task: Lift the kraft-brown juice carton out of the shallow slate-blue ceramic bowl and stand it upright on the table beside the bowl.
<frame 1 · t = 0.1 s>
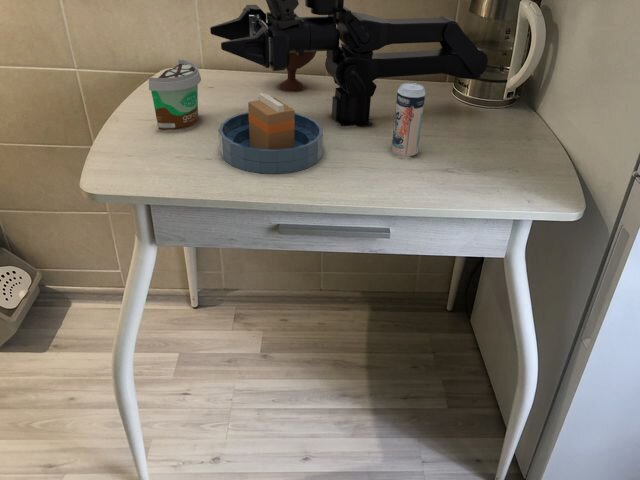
hand: (215, 38, 99), 17 cm above the table, tool horizontal, fingers open, 9 cm apart
beer can: (404, 153, 107), on the table
ice cream bowl: (291, 88, 131), on the table
food container: (186, 125, 111), on the table
bowl: (272, 153, 103), on the table
carton: (271, 151, 102), resting on bowl
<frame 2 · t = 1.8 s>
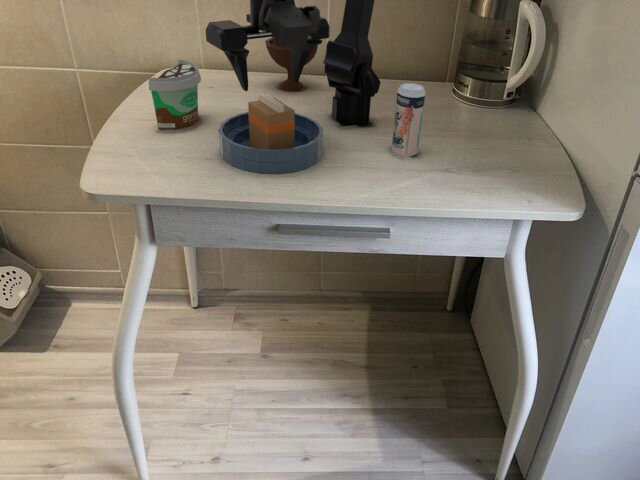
hand: (270, 86, 96), 12 cm above the table, tool pointing down, fingers open, 9 cm apart
nothing on the table moved.
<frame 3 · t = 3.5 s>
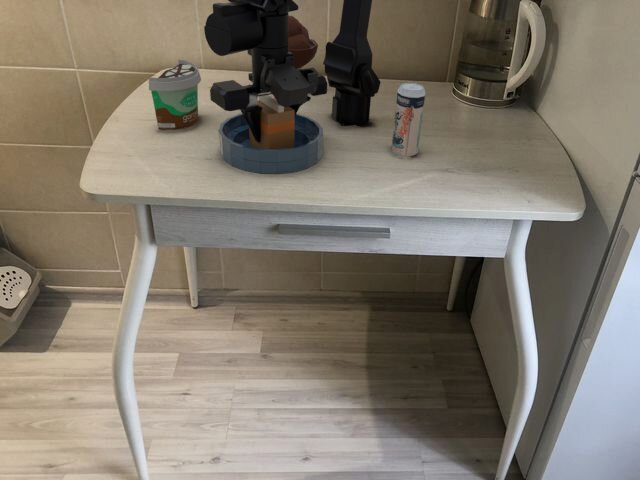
hand: (271, 138, 101), 3 cm above the table, tool pointing down, fingers closed on carton, 5 cm apart
carton: (272, 151, 102), point 1 cm above the table, touching bowl, gripper
everything else where it was.
when the fingers open (2 cm above the table, at t = 8.8 s): carton stays where it is, on the table.
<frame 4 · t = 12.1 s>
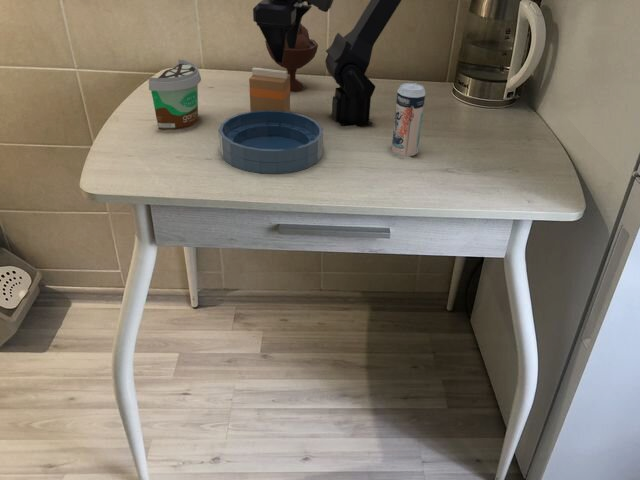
hand: (285, 54, 106), 13 cm above the table, tool pointing down, fingers open, 9 cm apart
carton: (270, 117, 116), on the table
everything else where it was.
at the end: carton inside the target area (0.0 cm from its centre), on the table; carton touching table; carton tilted 0° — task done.
